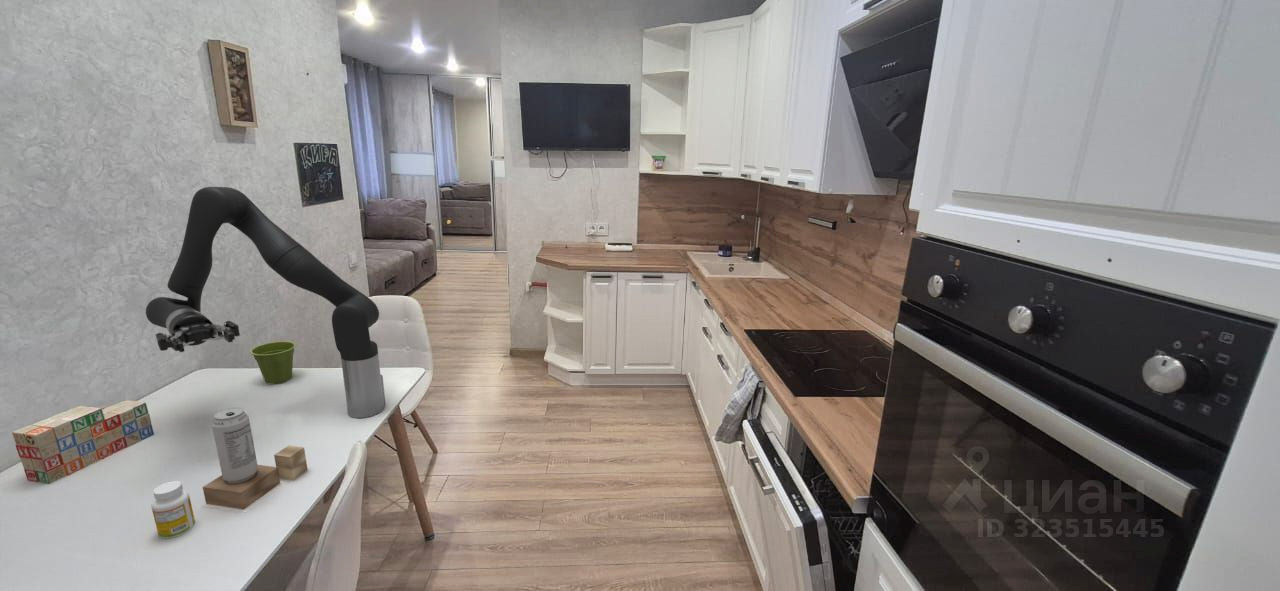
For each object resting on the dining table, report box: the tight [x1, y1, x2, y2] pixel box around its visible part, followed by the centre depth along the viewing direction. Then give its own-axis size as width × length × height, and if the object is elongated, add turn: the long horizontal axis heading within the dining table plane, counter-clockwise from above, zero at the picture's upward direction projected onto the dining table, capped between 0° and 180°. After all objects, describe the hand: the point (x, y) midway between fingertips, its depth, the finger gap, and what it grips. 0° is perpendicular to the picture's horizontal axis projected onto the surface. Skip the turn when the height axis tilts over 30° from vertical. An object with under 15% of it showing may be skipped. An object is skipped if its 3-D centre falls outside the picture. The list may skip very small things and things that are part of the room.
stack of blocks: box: [11, 400, 155, 485], centre depth 120 cm, size 21×6×12 cm, turn 171°
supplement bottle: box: [151, 480, 196, 539], centre depth 98 cm, size 5×5×10 cm
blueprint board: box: [202, 480, 287, 513], centre depth 111 cm, size 16×11×1 cm
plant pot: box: [249, 340, 297, 385], centre depth 163 cm, size 12×12×11 cm
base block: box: [202, 464, 281, 509], centre depth 109 cm, size 9×9×4 cm
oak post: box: [273, 444, 308, 481], centre depth 116 cm, size 4×4×6 cm
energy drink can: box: [211, 407, 259, 483], centre depth 107 cm, size 6×6×15 cm
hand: (206, 342), depth 114 cm, fingers open, 8 cm apart
